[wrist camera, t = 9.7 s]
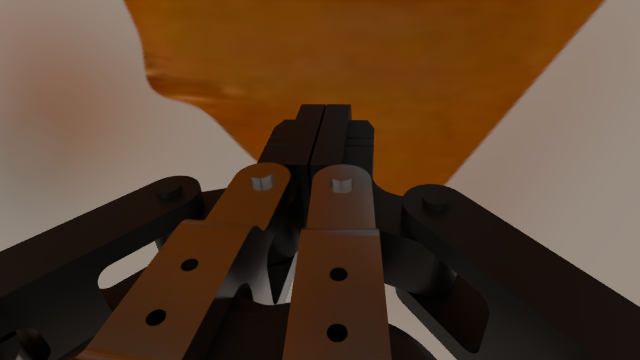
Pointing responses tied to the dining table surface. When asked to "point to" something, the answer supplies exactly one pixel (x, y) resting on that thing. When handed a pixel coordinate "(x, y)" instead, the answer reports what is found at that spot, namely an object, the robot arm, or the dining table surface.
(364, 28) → the dining table surface
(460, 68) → the dining table surface
